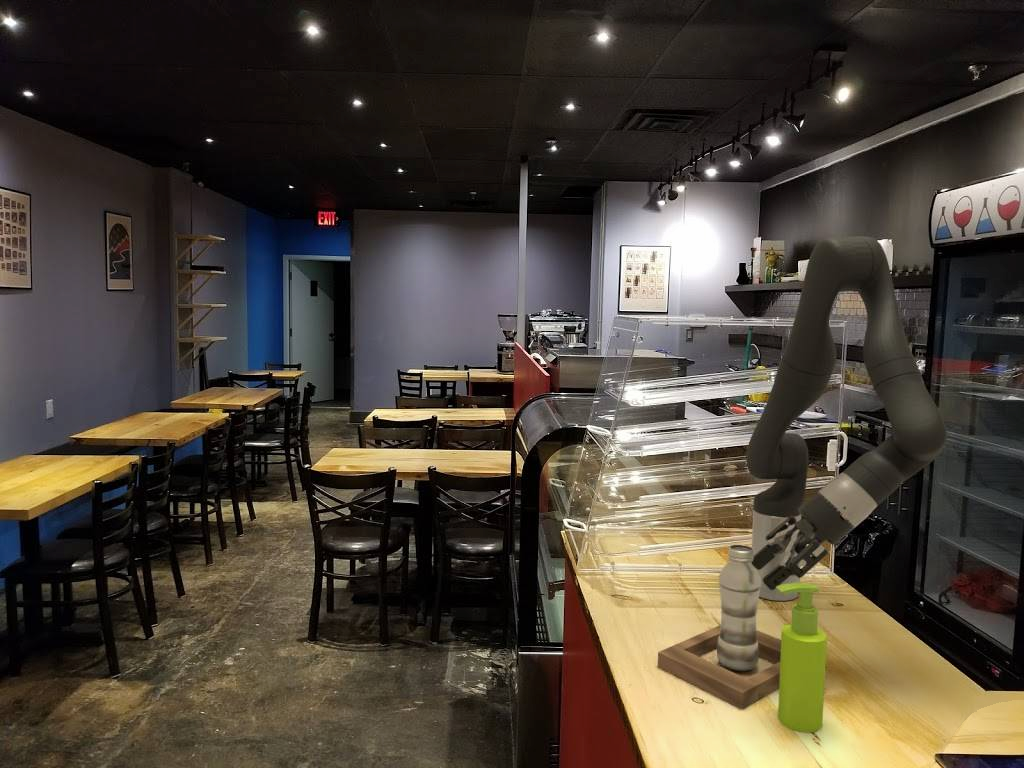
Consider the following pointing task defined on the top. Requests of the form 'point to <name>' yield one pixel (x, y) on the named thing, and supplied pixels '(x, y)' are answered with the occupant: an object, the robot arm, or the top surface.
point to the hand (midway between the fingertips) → (759, 575)
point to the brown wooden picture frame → (717, 679)
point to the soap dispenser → (802, 663)
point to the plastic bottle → (739, 610)
